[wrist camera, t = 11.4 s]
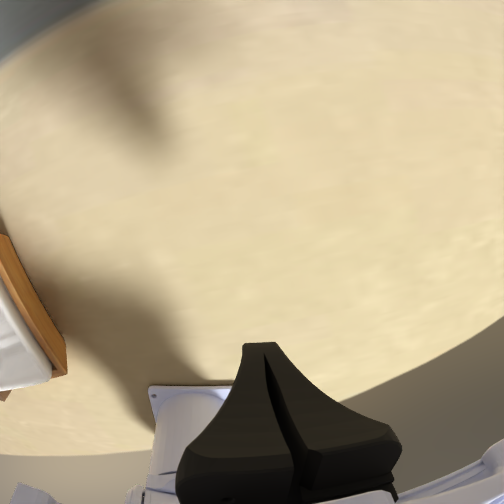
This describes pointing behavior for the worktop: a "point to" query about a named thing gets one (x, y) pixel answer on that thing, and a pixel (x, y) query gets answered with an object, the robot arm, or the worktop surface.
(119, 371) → the worktop surface
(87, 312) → the worktop surface
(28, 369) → the soap dish
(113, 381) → the worktop surface
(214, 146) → the worktop surface
